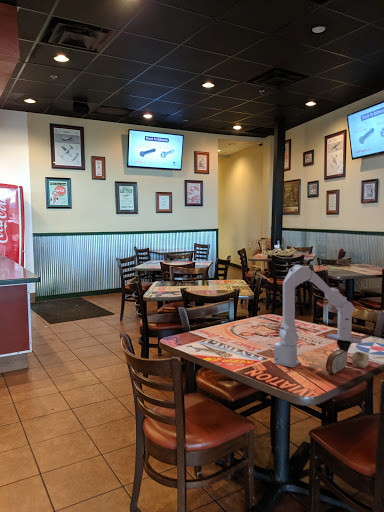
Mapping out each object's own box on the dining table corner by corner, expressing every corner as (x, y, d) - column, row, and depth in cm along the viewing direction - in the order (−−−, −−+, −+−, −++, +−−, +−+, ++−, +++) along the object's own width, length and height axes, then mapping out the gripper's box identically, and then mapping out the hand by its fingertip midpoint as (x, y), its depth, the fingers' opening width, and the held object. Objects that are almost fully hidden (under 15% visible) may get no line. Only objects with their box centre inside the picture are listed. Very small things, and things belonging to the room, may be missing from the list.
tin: (341, 365, 169) (341, 346, 168) (348, 367, 166) (348, 348, 166) (324, 375, 158) (325, 355, 158) (332, 377, 156) (332, 356, 155)
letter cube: (352, 365, 168) (352, 353, 168) (356, 362, 172) (356, 350, 172) (364, 368, 165) (364, 356, 165) (368, 364, 169) (368, 353, 168)
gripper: (364, 327, 170) (363, 358, 171) (331, 322, 180) (331, 351, 181) (359, 331, 165) (358, 362, 166) (325, 326, 174) (325, 355, 175)
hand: (344, 357), depth 173 cm, fingers closed
